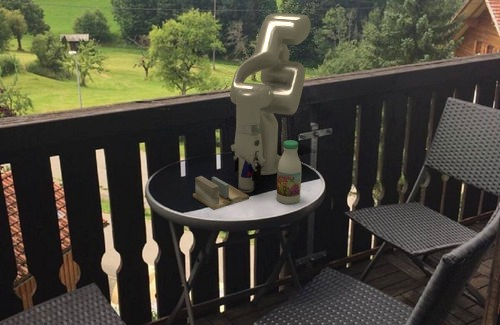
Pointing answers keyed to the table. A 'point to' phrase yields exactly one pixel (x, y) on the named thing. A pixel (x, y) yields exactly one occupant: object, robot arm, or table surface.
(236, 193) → the board
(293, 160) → the milk bottle
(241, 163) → the energy drink
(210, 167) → the table surface
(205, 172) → the table surface
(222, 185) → the grey rectangular plate
